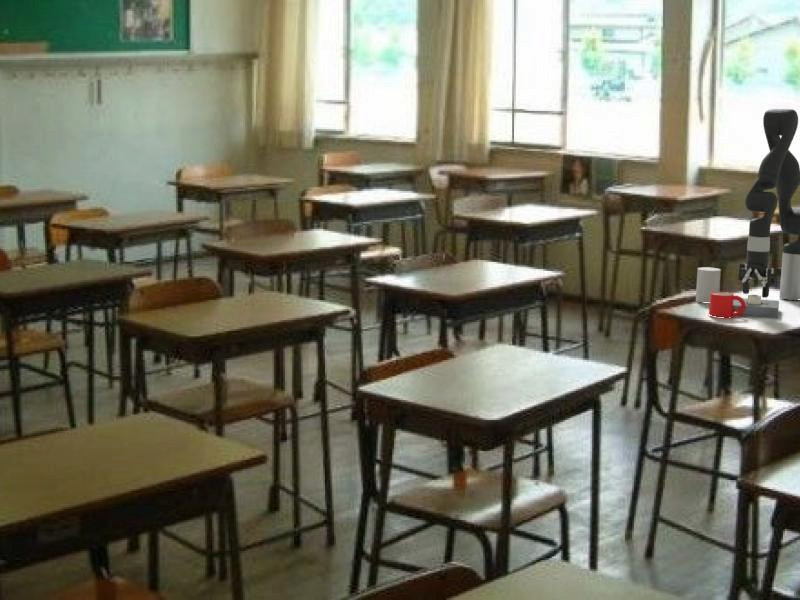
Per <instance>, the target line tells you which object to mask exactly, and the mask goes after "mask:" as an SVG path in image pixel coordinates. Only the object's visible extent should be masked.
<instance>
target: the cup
mask: <svg viewBox="0 0 800 600" xmlns="http://www.w3.org/2000/svg"><path fill="white" fill-rule="evenodd" d="M721 271H722V269H720V268H717V267H709V266H706V267H705V266H704V267H697V273H696V275H697V276H696V289H695V290H696V292H695V302H697V303H699V302H710V293H711V292H720V289H721V288H720V287H721V286H720V285H721Z"/></svg>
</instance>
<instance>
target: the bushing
mask: <svg viewBox="0 0 800 600" xmlns="http://www.w3.org/2000/svg"><path fill="white" fill-rule="evenodd" d="M747 299H748V304H761V300H762V295H758V294H747Z"/></svg>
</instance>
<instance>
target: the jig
mask: <svg viewBox="0 0 800 600" xmlns="http://www.w3.org/2000/svg"><path fill="white" fill-rule="evenodd" d="M741 298H742V299H743V300H744V301H745V304H746V308H745V311H744V312H743V313H742V314H741V315H739V317H751V318H764V319H766V318H767V319H778V317H779V307H780V301H779V300H775V299H774V300H773V299H761V304H748V298H743V297H741ZM740 309H741V303H740V302H739V301H738V300H734V301H733V312H738V311H739V310H740Z"/></svg>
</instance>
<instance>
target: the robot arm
mask: <svg viewBox="0 0 800 600" xmlns="http://www.w3.org/2000/svg"><path fill="white" fill-rule="evenodd" d="M762 121H763V122H762V124H763V130H764V134H765V138H766V142H767V145H768V146H767V147H768V149H769V152H768V153H767V154H766V155H765V157H764V158H763V159H762V160H761V163H760V166H759V170H758V172H757V176H756V179H755V181H754V183H753V185H752V186H751V188H750V189H749V191H748V193H747V194H746V197H745V199H744V200H745V202H744V203H745V204H744V205H745V207H746V209H747V210H748V211H749V212H756V213H757V212H759V213H764V214H763V216H762V217H758V218H752V219H751V220H750V221H749V225H748V227H749V228H748V232H749V233H748V239H747V246H746V248H747V249H746V259H745V260H746V262H747V263H745V262H744V263H740V264H739V269H738V276H737V277H738V279H737V280H738V281H740V282H742V292H743V295H749V293H750V285H751V284H750V281H751V280H752V279H757V280H758V281H759V282H761V285H762V289H761V290H762V291H761V298H768V297H769V296H770V287H771V286H775V284H776V278H775V277H776V269H775V268H774V267H768V264H769V262H770V253H771V252H770V250H771V238H770V237H771V226H772V221H773V217H774V214H775V212H776V209H777V206H778V216H779V226H780V228H781V229H780V230H781V231H782V232H783V233H784V234H788V235H798V236H797V239H796V240H795V241H791V242H789V243H788V242H787V243H785V244H783V246H782V258H781V273H780V283H779V284H780V285H779V287H780V288H779V297H780V298H782V299H781V300H784V299H788V300H787V301H792V300H798V299H800V209H797V208H792V198H793V197H794V195H795V193H796V192H797V189H798V188H799V187H800V164H799V161H798V160H797V157H796V156H795V155H794V154H793V153H792V152H791V151H790V147H791V145H792V142H793V140H794V138H795V135H796V132H797V131H798V130H797V129H798V126H799V115H798V113H797V111H796V110H795V109H792V108H791V109H789V108H770V109H767V110H766V111H765V112H764V115H763V118H762ZM772 189H776V193H775V192H774V191H769V190H772ZM780 298H779V299H780Z"/></svg>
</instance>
